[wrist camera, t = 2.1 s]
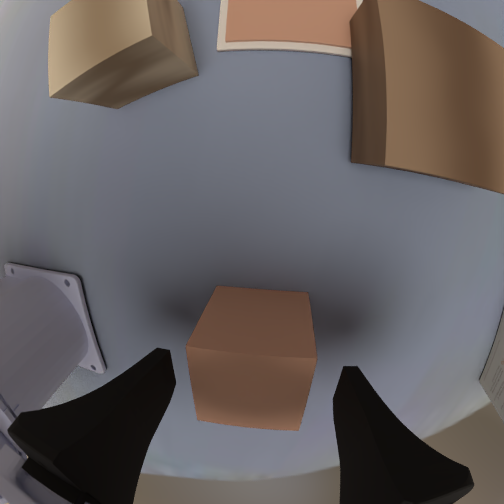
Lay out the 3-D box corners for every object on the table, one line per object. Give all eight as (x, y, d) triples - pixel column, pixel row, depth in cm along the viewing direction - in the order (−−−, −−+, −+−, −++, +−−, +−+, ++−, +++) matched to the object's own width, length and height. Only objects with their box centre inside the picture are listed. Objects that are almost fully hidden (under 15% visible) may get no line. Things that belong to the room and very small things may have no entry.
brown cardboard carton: (350, 162, 11) (385, 165, 7) (349, 21, 8) (374, -15, 5) (469, 185, 10) (514, 197, 7) (466, 62, 8) (506, 50, 5)
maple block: (117, 109, 11) (49, 97, 7) (109, 43, 10) (50, 16, 5) (199, 75, 10) (151, 35, 6) (183, 8, 9) (141, -41, 4)
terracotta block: (219, 354, 15) (197, 419, 10) (217, 285, 14) (185, 346, 9) (297, 360, 15) (298, 430, 10) (308, 291, 13) (317, 358, 9)
